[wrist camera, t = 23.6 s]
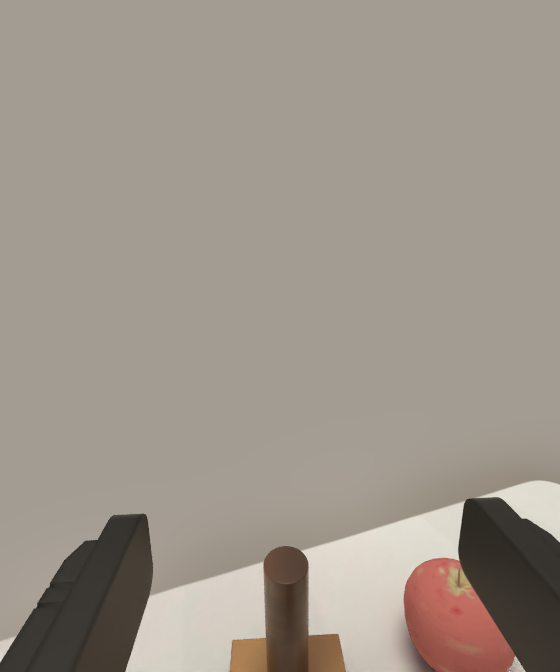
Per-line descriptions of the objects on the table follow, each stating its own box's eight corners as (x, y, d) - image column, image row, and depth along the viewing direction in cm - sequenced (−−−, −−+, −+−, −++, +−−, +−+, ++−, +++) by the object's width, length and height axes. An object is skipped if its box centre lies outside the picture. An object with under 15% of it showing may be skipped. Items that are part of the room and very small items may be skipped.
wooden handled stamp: (227, 757, 22) (216, 605, 20) (234, 667, 27) (225, 535, 25) (353, 749, 23) (359, 598, 20) (337, 661, 28) (341, 530, 25)
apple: (387, 613, 31) (392, 536, 29) (468, 606, 32) (478, 530, 30) (427, 721, 24) (437, 628, 22) (531, 711, 24) (549, 619, 23)
